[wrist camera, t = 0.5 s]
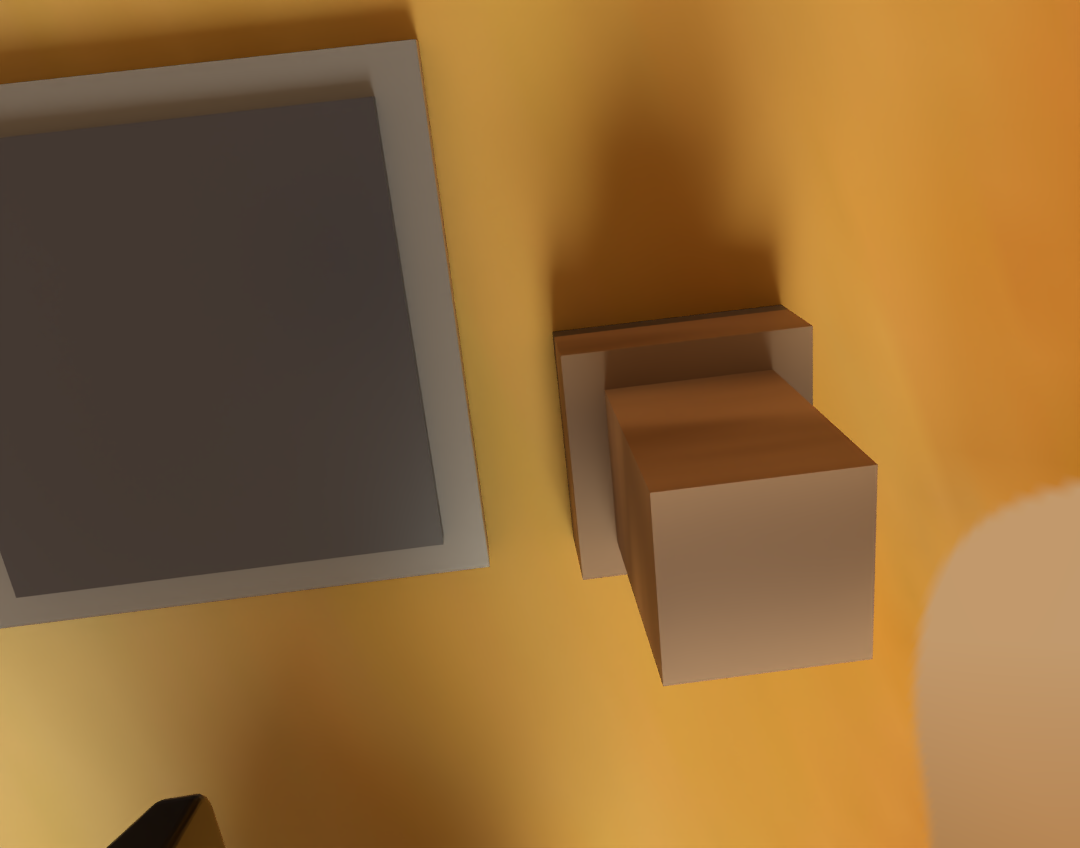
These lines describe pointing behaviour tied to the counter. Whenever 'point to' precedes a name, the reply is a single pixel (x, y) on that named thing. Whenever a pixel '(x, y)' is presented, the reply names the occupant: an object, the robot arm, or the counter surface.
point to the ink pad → (227, 336)
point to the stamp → (719, 491)
